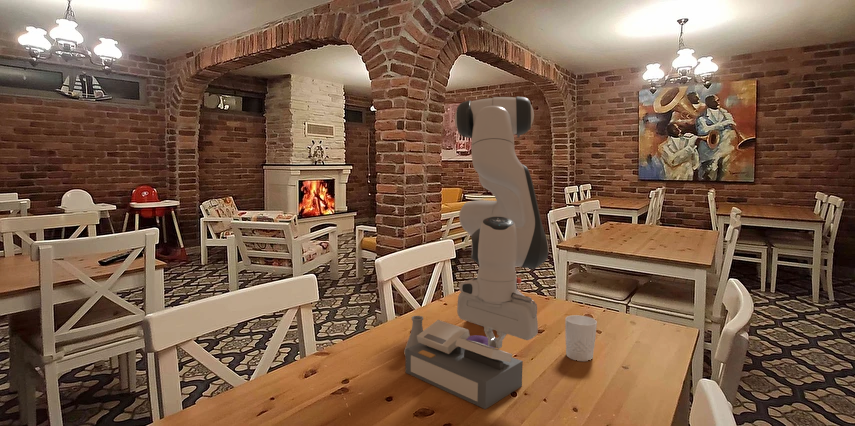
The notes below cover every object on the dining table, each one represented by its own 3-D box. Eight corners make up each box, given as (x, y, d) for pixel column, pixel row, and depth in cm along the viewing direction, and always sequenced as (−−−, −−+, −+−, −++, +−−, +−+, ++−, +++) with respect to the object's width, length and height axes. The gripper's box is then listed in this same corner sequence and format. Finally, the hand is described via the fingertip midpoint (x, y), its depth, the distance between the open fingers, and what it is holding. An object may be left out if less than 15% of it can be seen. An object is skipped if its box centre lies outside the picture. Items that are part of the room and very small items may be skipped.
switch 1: (439, 325, 118) (437, 319, 118) (469, 336, 111) (468, 329, 111) (418, 342, 113) (416, 335, 112) (448, 354, 106) (447, 347, 105)
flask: (427, 360, 119) (428, 323, 118) (400, 357, 120) (400, 321, 119) (432, 349, 126) (433, 314, 125) (407, 347, 127) (407, 312, 126)
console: (443, 355, 122) (444, 327, 121) (521, 386, 106) (522, 354, 105) (404, 372, 112) (405, 342, 111) (484, 409, 95) (485, 374, 95)
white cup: (569, 348, 128) (571, 313, 127) (598, 355, 123) (600, 318, 122) (559, 357, 121) (561, 320, 120) (590, 365, 117) (592, 327, 116)
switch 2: (475, 349, 110) (477, 341, 110) (510, 362, 103) (512, 353, 103) (455, 345, 104) (457, 337, 105) (491, 358, 97) (493, 349, 98)
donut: (499, 358, 120) (496, 341, 119) (465, 366, 119) (461, 349, 119) (491, 343, 130) (488, 327, 129) (459, 351, 129) (456, 334, 129)
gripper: (544, 295, 100) (542, 355, 102) (470, 277, 114) (469, 331, 116) (529, 302, 96) (527, 365, 98) (453, 283, 109) (453, 338, 111)
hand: (495, 346), depth 107 cm, fingers closed, pressing on switch 2
